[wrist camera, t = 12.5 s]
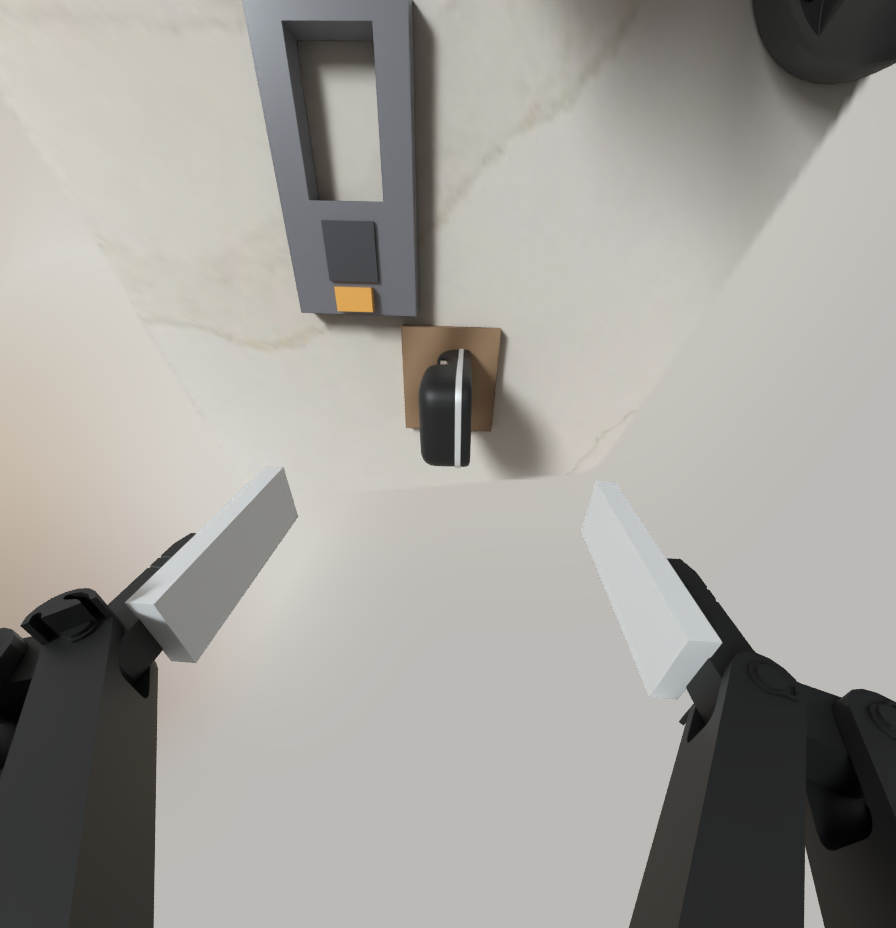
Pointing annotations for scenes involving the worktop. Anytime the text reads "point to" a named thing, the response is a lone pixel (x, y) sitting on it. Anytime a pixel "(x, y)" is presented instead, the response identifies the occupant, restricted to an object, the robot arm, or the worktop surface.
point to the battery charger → (446, 410)
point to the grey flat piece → (306, 218)
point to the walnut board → (424, 351)
